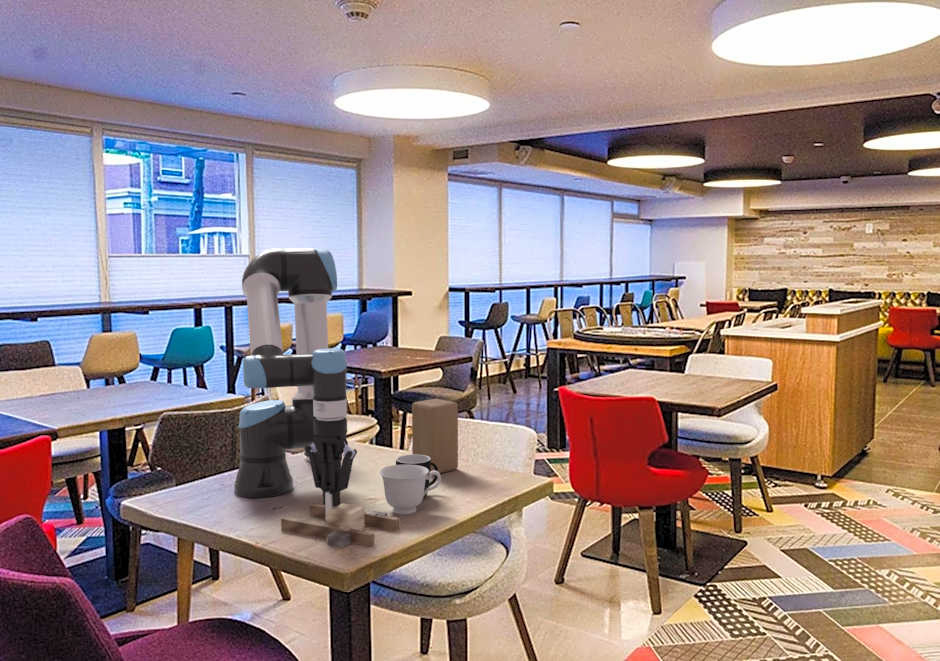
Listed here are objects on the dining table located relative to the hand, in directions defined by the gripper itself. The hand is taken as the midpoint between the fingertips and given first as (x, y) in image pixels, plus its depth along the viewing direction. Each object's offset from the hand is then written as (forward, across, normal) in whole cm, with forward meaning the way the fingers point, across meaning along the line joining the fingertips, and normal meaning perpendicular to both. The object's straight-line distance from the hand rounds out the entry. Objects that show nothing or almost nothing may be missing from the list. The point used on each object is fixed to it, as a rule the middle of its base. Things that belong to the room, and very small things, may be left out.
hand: (331, 519), depth 174 cm
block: (+2, -2, +53) cm, 53 cm away
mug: (+2, +6, +29) cm, 30 cm away
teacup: (+2, +10, +18) cm, 21 cm away
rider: (+2, +4, 0) cm, 4 cm away
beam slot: (+2, +2, 0) cm, 3 cm away
